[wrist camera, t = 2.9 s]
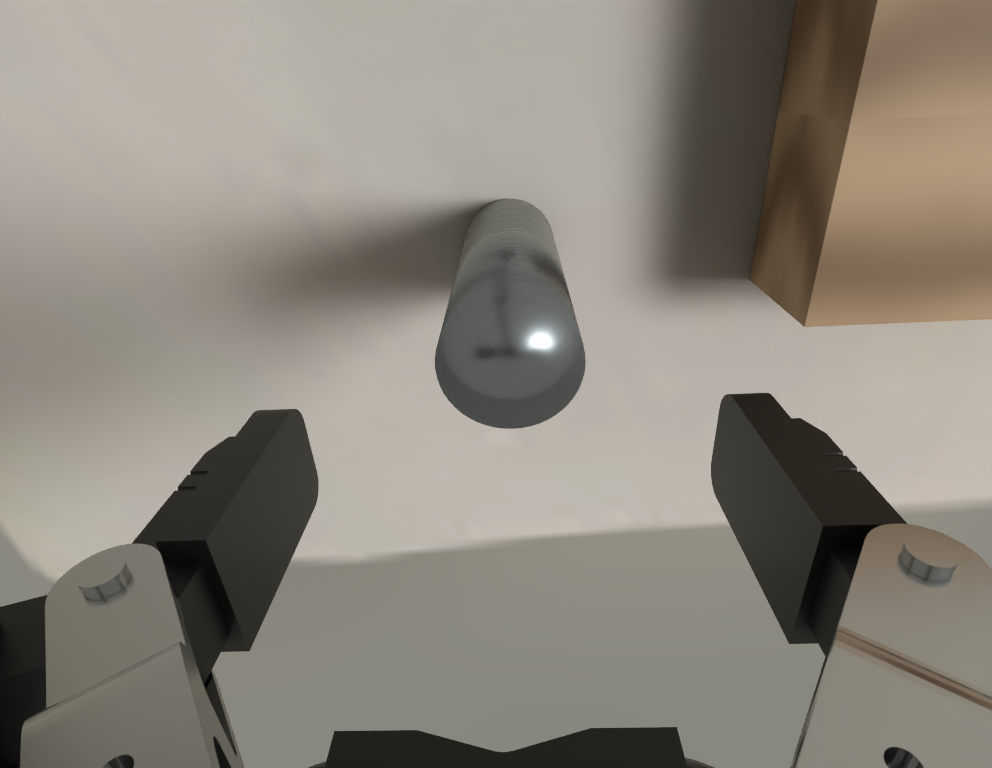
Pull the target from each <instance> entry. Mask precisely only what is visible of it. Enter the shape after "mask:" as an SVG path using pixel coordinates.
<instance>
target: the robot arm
mask: <svg viewBox="0 0 992 768" xmlns="http://www.w3.org/2000/svg"><path fill="white" fill-rule="evenodd" d="M190 472H191V474H190V475H187V476H186V478H185V479H184V480H183V481H182V483H181V484H180V485H179V486H178V491H174V492H173V494H172V495H171V496H170V497H169V499H168V500H167V501H166V502H165V503H164V505H163V506H162V507H161V508H160V510H159V511H158V512H157V513H156V515H155V516H154V517H153V518H152V519H151V521H150V522H149V523H148V524H147V526H146V527H145V528H144V529H143V530H142V532H141V533H140V534H139V535H138V537H137V538H136V539H135V540H134V542H133V543H132V544H126V545H120V546H116V547H113V548H109V549H107V550H104V551H101V552H99V553H97V554H94V555H92V556H90V557H89V558H87V559H85V560H83V561H81V562H80V563H78V564H77V565H75V566H74V567H72V568H71V569H70V570H69V571H67V572H66V573H65V574H64V575H63V576H62V577H61V578H60V579H59V580H58V581H57V582H56V583H55V584H54V585H53V587H52V588H51V590H50V592H49V593H48V595H45V596H42V597H38V598H34V599H30V600H26V601H22V602H18V603H14V604H10V605H7V606H2V607H0V768H245V767H244V764H243V761H242V758H241V755H240V751H239V748H238V745H237V742H236V739H235V735H234V732H233V729H232V726H231V723H230V720H229V716H228V713H227V711H226V707H225V704H224V700H223V698H222V694H221V691H220V688H219V685H218V681H217V679H216V677H215V674H214V672H213V670H212V668H213V666H214V664H215V662H216V660H217V658H218V656H219V654H220V652H231V651H250V648H251V646H252V644H253V642H254V640H255V638H256V635H257V633H258V631H259V629H260V626H261V624H262V622H263V620H264V618H265V616H266V613H267V611H268V609H269V607H270V605H271V602H272V600H273V598H274V596H275V593H276V591H277V589H278V587H279V585H280V583H281V580H282V578H283V576H284V574H285V571H286V569H287V567H288V565H289V563H290V561H291V558H292V556H293V554H294V552H295V550H296V547H297V545H298V543H299V541H300V539H301V536H302V534H303V532H304V530H305V528H306V525H307V523H308V521H309V519H310V517H311V514H312V512H313V510H314V508H315V505H316V502H317V497H318V475H317V471H316V467H315V463H314V459H313V455H312V451H311V447H310V443H309V439H308V435H307V431H306V427H305V423H304V419H303V417H302V415H301V413H300V412H299V411H298V410H297V409H283V410H258V411H256V412H254V413H253V414H252V416H251V417H250V418H249V419H248V421H247V422H246V423H245V425H244V426H243V427H242V429H241V430H240V431H239V432H238V434H237V435H236V436H235V437H228V438H227V439H225V440H224V441H222V442H221V443H219V444H218V445H216V446H215V447H214V448H212V449H211V450H209V451H208V452H206V453H205V454H204V455H203V457H202V458H201V459H200V460H199V462H198V463H197V464H196V465H195V467H194V468H193V469H192V470H191V471H190ZM711 478H712V485H713V489H714V492H715V495H716V498H717V500H718V502H719V504H720V506H721V508H722V510H723V512H724V514H725V516H726V518H727V520H728V522H729V524H730V526H731V528H732V530H733V532H734V534H735V536H736V538H737V540H738V542H739V544H740V546H741V548H742V550H743V552H744V554H745V556H746V558H747V560H748V562H749V564H750V566H751V568H752V570H753V572H754V574H755V576H756V578H757V580H758V582H759V584H760V586H761V588H762V590H763V592H764V594H765V596H766V598H767V600H768V602H769V604H770V606H771V608H772V610H773V612H774V614H775V616H776V618H777V620H778V622H779V624H780V626H781V628H782V630H783V632H784V634H785V636H786V638H787V640H788V642H789V644H806V643H818V644H819V645H820V647H821V649H822V651H823V653H824V654H825V659H824V662H823V665H822V668H821V671H820V675H819V678H818V681H817V684H816V687H815V691H814V693H813V697H812V700H811V703H810V706H809V710H808V713H807V716H806V719H805V722H804V725H803V728H802V732H801V735H800V738H799V741H798V744H797V748H796V751H795V754H794V757H793V761H792V763H791V767H790V768H992V570H991V569H990V567H989V566H988V564H987V563H985V561H984V560H983V559H982V558H981V557H980V556H979V555H977V554H976V553H975V552H974V551H973V550H971V549H970V548H968V547H967V546H965V545H964V544H962V543H961V542H959V541H957V540H955V539H953V538H951V537H949V536H947V535H945V534H942V533H940V532H937V531H934V530H931V529H928V528H925V527H921V526H915V525H910V524H907V523H906V522H905V521H904V520H903V519H902V517H901V516H900V515H899V514H898V513H897V512H896V511H895V510H894V509H893V507H892V506H891V505H890V504H889V503H888V502H887V501H886V500H885V498H884V497H883V496H882V495H881V494H880V493H879V492H878V491H877V490H876V488H875V487H874V486H873V485H872V484H871V483H870V482H869V481H868V480H867V478H866V477H865V476H864V475H863V474H862V473H861V472H857V467H856V466H855V465H854V464H853V463H852V462H851V461H850V460H849V458H848V457H847V456H843V452H842V451H841V449H840V448H839V447H838V446H837V445H836V444H835V443H834V442H833V441H832V439H831V438H830V437H829V436H828V435H827V434H826V433H824V432H823V431H821V430H819V429H818V428H816V427H814V426H813V425H811V424H809V423H808V422H806V421H804V420H802V419H801V418H794V419H791V418H790V416H789V415H788V414H787V413H786V412H785V410H784V409H783V408H782V407H781V406H780V404H779V403H778V402H777V401H776V400H775V398H774V397H773V396H772V395H771V394H769V393H751V394H727V395H725V396H724V397H723V399H722V401H721V404H720V410H719V416H718V423H717V429H716V436H715V442H714V449H713V455H712V462H711ZM309 768H714V767H712V766H709V765H706V764H704V763H701V762H699V761H696V760H692V759H688V758H685V757H684V753H683V750H682V746H681V742H680V738H679V734H678V730H677V727H662V728H590V729H587V730H583V731H580V732H577V733H573V734H570V735H566V736H563V737H559V738H556V739H553V740H549V741H546V742H542V743H539V744H536V745H532V746H529V747H525V748H521V749H518V750H515V751H510V752H495V751H491V750H487V749H484V748H480V747H476V746H473V745H469V744H465V743H462V742H458V741H454V740H451V739H447V738H443V737H440V736H436V735H432V734H428V733H425V732H421V731H417V730H407V731H406V730H404V731H403V730H402V731H401V730H400V731H334V735H333V739H332V742H331V746H330V750H329V754H328V758H327V761H326V762H323V763H320V764H316V765H314V766H311V767H309Z"/></svg>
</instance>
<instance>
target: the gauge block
mask: <svg viewBox="0 0 992 768" xmlns="http://www.w3.org/2000/svg"><path fill="white" fill-rule="evenodd" d="M750 280H751V281H752V282H753V283H754V284H755V285H756V286H758V287H759V288H760V289H761V290H762V291H763V292H765V293H766V294H767V295H768V296H769V297H770V298H772V299H773V300H774V301H775V302H776V303H777V304H779V305H780V306H781V307H782V308H783V309H784V310H786V311H787V312H788V313H789V314H790V315H791V316H793V317H794V318H795V319H796V320H797V321H798V322H800V323H801V324H802V325H803V326H804V327H813V326H836V325H860V324H884V323H908V322H932V321H955V320H979V319H992V0H796V6H795V12H794V18H793V24H792V30H791V36H790V42H789V48H788V54H787V60H786V66H785V72H784V78H783V84H782V90H781V96H780V102H779V108H778V114H777V120H776V126H775V132H774V138H773V144H772V150H771V156H770V162H769V168H768V175H767V181H766V187H765V193H764V199H763V205H762V211H761V217H760V223H759V229H758V235H757V241H756V247H755V253H754V259H753V265H752V271H751V277H750Z"/></svg>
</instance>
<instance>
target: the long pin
mask: <svg viewBox="0 0 992 768" xmlns="http://www.w3.org/2000/svg"><path fill="white" fill-rule="evenodd" d="M435 369H436V374H437V379H438V381H439V384H440V387H441V389H442V391H443V393H444V394H445V396H446V397H447V398H448V400H449V401H450V402H451V403H452V404H453V406H454V407H455V408H457V409H458V410H459V411H460V412H461V413H463V414H464V415H466V416H467V417H469V418H471V419H473V420H474V421H476V422H479V423H482V424H484V425H488V426H492V427H497V428H510V429H514V428H523V427H528V426H532V425H536V424H539V423H541V422H543V421H546V420H548V419H550V418H551V417H553V416H555V415H556V414H557V413H559V412H560V411H561V410H563V409H564V408H565V407H566V406H567V405H568V404H569V403H570V401H571V400H572V399H573V397H574V396H575V394H576V393H577V391H578V389H579V387H580V385H581V382H582V380H583V376H584V372H585V352H584V347H583V343H582V339H581V335H580V332H579V328H578V324H577V321H576V317H575V313H574V310H573V306H572V302H571V299H570V295H569V291H568V288H567V284H566V280H565V277H564V273H563V270H562V266H561V262H560V259H559V255H558V251H557V248H556V244H555V240H554V237H553V233H552V230H551V227H550V224H549V222H548V220H547V219H546V217H545V216H544V215H543V214H542V212H541V211H540V210H538V209H537V208H536V207H535V206H533V205H531V204H529V203H527V202H525V201H522V200H517V199H502V200H498V201H495V202H492V203H490V204H488V205H486V206H485V207H484V208H482V209H481V210H480V211H479V212H478V213H477V214H476V215H475V216H474V218H473V219H472V221H471V223H470V225H469V227H468V230H467V234H466V238H465V242H464V245H463V249H462V253H461V257H460V261H459V264H458V268H457V272H456V276H455V280H454V284H453V287H452V291H451V295H450V299H449V303H448V306H447V310H446V314H445V318H444V322H443V326H442V329H441V333H440V337H439V341H438V345H437V349H436V355H435Z"/></svg>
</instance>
